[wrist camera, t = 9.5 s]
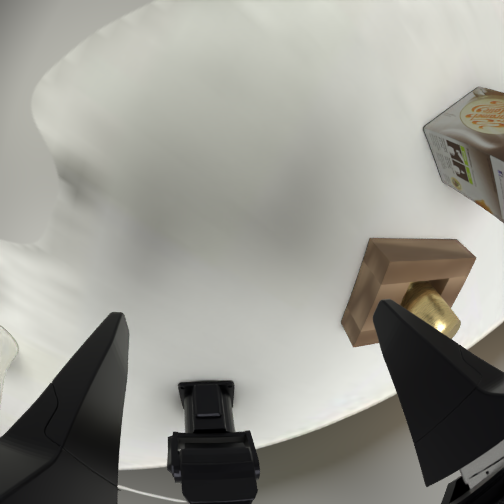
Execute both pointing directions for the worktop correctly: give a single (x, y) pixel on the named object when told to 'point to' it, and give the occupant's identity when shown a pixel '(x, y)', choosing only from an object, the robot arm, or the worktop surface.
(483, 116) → the coffee box
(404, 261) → the walnut block
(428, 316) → the brass peg
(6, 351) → the beer glass
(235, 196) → the worktop surface
